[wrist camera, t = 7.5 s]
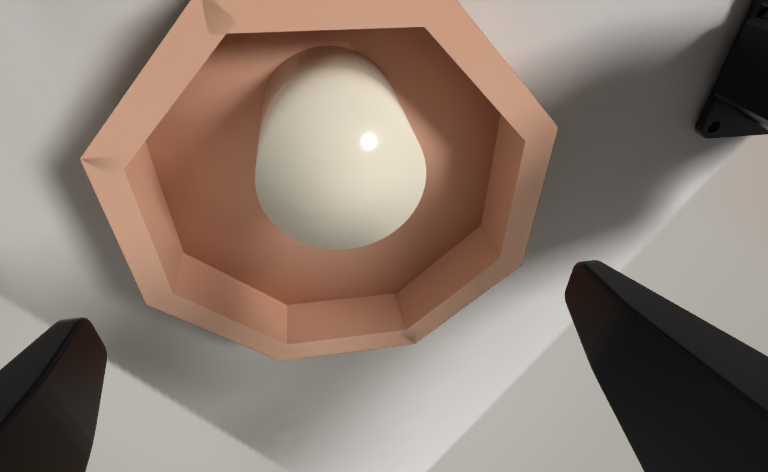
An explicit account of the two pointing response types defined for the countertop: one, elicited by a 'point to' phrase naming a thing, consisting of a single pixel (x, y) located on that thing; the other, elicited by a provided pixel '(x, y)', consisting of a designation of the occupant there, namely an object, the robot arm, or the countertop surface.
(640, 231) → the countertop surface
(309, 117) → the pebble sand
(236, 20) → the bowl
